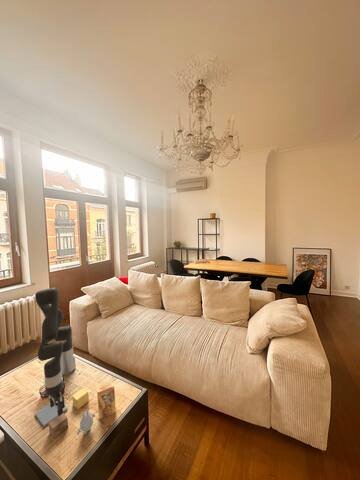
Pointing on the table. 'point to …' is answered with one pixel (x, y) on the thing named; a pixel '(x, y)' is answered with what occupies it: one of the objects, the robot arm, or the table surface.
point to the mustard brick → (80, 398)
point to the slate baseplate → (48, 414)
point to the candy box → (106, 400)
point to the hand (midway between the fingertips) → (56, 410)
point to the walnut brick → (58, 425)
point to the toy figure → (86, 422)
